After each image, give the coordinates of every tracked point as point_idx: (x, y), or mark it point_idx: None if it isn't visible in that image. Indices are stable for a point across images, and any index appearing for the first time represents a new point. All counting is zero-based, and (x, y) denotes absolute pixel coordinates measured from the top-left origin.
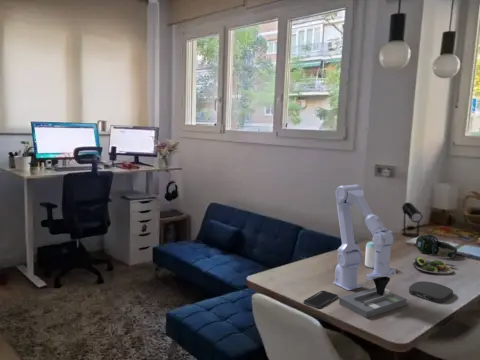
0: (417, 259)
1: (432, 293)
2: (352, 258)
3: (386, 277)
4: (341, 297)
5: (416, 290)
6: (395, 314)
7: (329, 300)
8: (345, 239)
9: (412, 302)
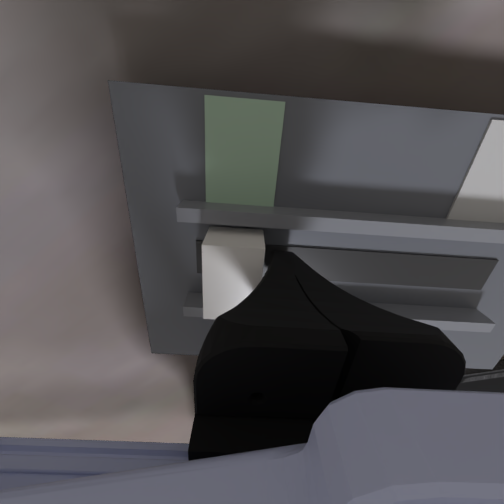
0: None
1: None
2: None
3: (246, 403)
4: (483, 365)
5: None
6: (377, 18)
7: (476, 375)
8: None
9: (44, 91)
